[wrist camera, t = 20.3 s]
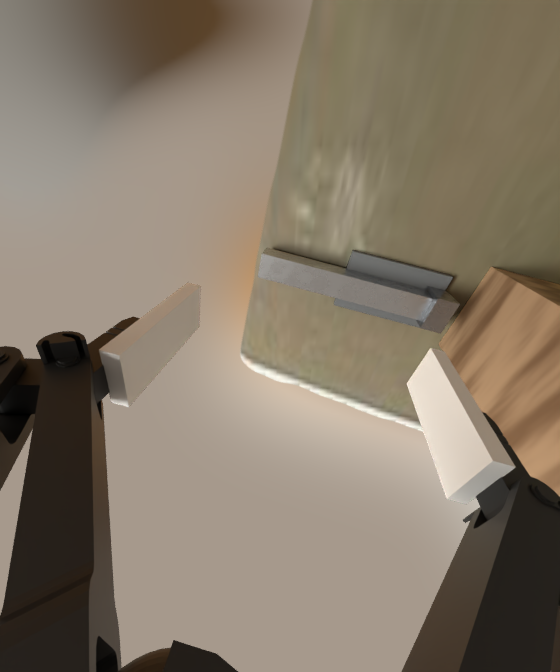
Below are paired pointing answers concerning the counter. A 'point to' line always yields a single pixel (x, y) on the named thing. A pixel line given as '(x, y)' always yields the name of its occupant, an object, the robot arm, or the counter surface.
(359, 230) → the counter surface
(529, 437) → the brown wooden block
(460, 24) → the counter surface
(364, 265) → the base plate
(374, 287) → the pin
